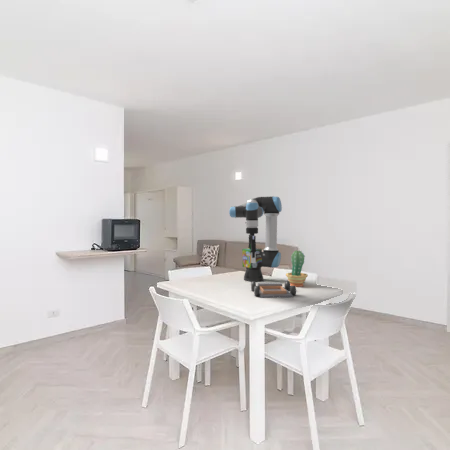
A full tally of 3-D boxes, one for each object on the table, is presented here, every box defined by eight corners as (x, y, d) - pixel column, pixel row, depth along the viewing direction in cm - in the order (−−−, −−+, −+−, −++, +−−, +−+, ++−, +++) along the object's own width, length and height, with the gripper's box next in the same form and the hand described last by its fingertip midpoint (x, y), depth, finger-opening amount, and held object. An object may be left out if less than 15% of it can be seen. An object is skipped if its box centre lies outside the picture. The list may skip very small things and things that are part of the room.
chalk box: (253, 265, 207) (253, 242, 207) (262, 267, 200) (262, 243, 199) (241, 266, 202) (241, 243, 202) (250, 268, 195) (250, 244, 194)
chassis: (250, 288, 217) (250, 280, 217) (287, 288, 218) (287, 279, 218) (256, 297, 193) (256, 287, 193) (297, 297, 194) (297, 287, 194)
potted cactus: (312, 286, 224) (312, 251, 223) (292, 288, 219) (292, 252, 219) (300, 282, 239) (300, 249, 238) (281, 283, 234) (282, 249, 233)
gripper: (244, 226, 212) (244, 258, 213) (248, 228, 188) (248, 264, 189) (255, 226, 212) (255, 258, 213) (260, 228, 188) (260, 264, 189)
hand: (252, 261), depth 201 cm, fingers closed on chalk box, 12 cm apart
